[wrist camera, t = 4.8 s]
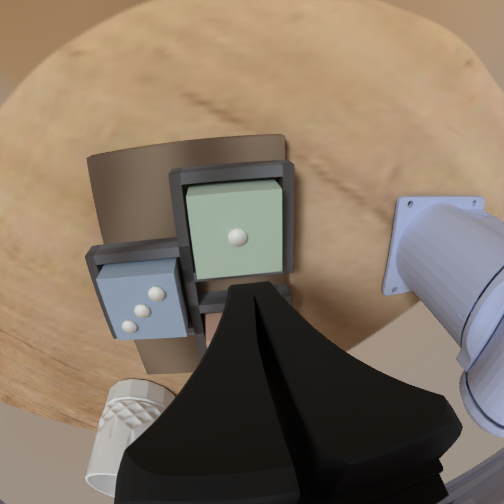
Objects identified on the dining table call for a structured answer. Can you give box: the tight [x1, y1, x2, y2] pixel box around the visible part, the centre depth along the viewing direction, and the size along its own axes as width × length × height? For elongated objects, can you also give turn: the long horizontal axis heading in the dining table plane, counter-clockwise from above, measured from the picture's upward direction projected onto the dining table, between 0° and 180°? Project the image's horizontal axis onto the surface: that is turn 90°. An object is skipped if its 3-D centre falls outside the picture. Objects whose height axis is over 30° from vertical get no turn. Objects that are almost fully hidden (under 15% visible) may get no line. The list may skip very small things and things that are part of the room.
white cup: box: [85, 379, 175, 498], centre depth 21 cm, size 8×8×10 cm
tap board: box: [85, 134, 294, 374], centre depth 19 cm, size 12×17×2 cm
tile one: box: [186, 177, 282, 279], centre depth 16 cm, size 4×4×3 cm
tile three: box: [96, 257, 189, 340], centre depth 18 cm, size 4×4×3 cm
